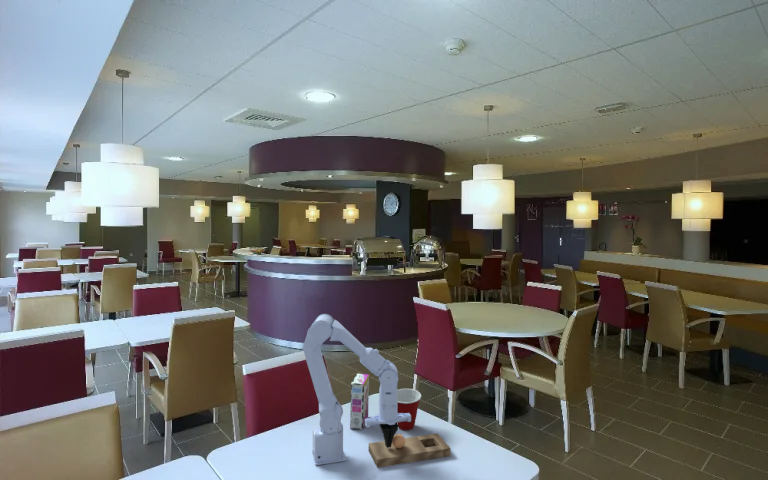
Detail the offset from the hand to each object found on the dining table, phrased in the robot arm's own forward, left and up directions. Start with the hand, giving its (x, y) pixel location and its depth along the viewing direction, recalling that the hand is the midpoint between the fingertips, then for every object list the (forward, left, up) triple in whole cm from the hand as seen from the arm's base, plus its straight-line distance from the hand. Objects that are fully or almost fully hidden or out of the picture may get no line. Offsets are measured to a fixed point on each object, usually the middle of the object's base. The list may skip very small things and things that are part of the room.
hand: (388, 445), depth 136 cm
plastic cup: (+12, +17, -4) cm, 21 cm away
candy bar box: (-3, +25, -4) cm, 25 cm away
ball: (+3, 0, +1) cm, 4 cm away
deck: (+7, 0, -3) cm, 8 cm away
